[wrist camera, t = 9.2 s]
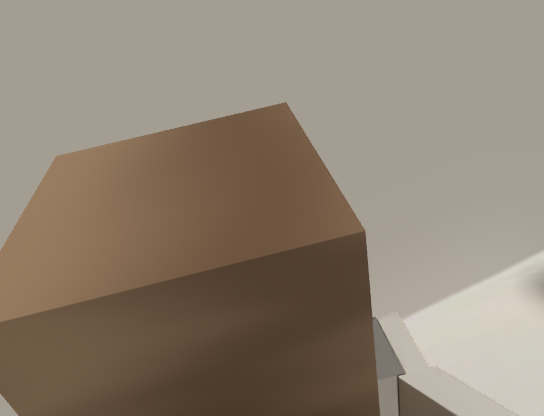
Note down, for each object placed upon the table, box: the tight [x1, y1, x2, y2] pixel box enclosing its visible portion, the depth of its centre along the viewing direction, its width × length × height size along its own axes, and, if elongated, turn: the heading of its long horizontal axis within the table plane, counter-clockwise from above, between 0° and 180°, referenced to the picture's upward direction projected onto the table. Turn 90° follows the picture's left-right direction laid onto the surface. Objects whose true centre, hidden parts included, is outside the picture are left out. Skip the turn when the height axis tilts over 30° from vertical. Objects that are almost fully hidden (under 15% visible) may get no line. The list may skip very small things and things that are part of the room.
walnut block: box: [0, 103, 380, 416], centre depth 10 cm, size 4×4×12 cm
